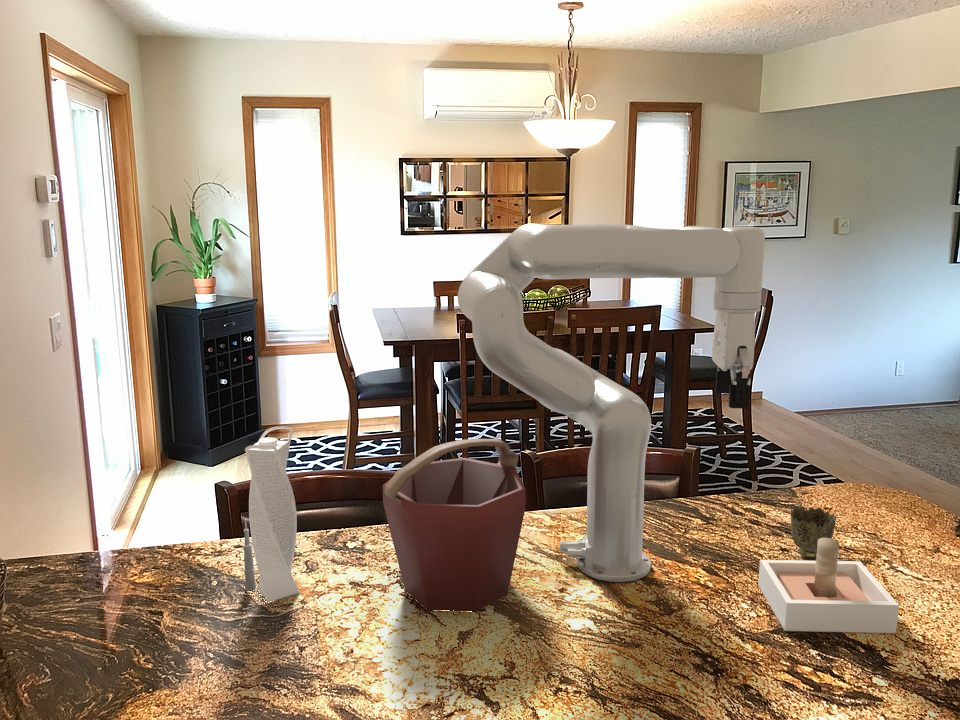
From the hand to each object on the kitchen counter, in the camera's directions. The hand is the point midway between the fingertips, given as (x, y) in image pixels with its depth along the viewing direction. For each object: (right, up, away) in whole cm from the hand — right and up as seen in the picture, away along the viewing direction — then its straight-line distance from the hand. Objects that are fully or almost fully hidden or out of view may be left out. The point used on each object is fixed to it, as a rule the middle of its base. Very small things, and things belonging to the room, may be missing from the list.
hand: (731, 400), depth 139 cm
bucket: (-47, -31, -6) cm, 56 cm away
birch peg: (+10, -31, -13) cm, 35 cm away
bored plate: (+10, -32, -13) cm, 36 cm away
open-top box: (+10, -32, -13) cm, 36 cm away
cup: (+15, -28, +4) cm, 32 cm away
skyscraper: (-77, -32, -6) cm, 83 cm away
